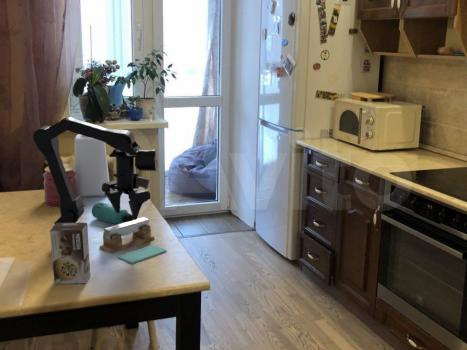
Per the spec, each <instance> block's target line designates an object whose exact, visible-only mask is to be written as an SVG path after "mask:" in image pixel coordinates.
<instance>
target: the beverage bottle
mask: <svg viewBox="0 0 467 350" xmlns="http://www.w3.org/2000/svg"><path fill="white" fill-rule="evenodd" d="M91 215H92V217H93V218H95V219H97V220H100V221H104V222H107V223H111V224H114V225H118V224H122V223H125V222H129V221H132V220H134V219H133V216H132V213H130V212H129V211H128V210H127V209H124V208H121V207H120V212H119V213H116V212H115V210H114V208H113V206H112V204H109V203H105V202H102V201H101V202H100V201H97V202H95V204H93V206H92V208H91Z"/></svg>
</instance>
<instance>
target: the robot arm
mask: <svg viewBox="0 0 467 350" xmlns="http://www.w3.org/2000/svg"><path fill="white" fill-rule="evenodd" d="M65 132H71V133H73V134H76V135H78V134H80V135H84V136H87V137H90V138H94V139H97V140H100V141H103V142H105V144H107V145H108V146H110V147H111V148H113V150H112V152H111V153H110V154H109V156H108V157H110V158H115V173H113V177H115V178H116V180H111V181H110V180H109V182H105V183H104V184H103V185H102V191H103V192H105V193H104V194H105V195H104V196H106V198H107V199H108V202H110V205H111V206H113V208H114V210H115V212H116V213H119V212H120V208H121V197H122V195H123V194H124V195H127V196H128V205H129V208H130V212H131V213H130V214H131V215H132V216H133V219H134V220H136V219H138V217H139V215H140V211H141V208H142V206H143V205H144V203H145V202H148V201H149V200H151V199H152V197H151V196H152V195H151V192H150V191H149V190H148V187H149V183H150V179H148V178H144V177H141V176H140V175H139V173H137V172H135V168H136V170H138V171H141V172H143V171H144V172H157V170H158V166H159V165H158V164H159V159H158V155H157V150H156V149H142V147H140V145H139V144H138V143H137V141H136V139H135V136H134V134H133V132H132V131H130V130H126V129H117V128H106V127H104V126H100V125H96V124H93V123H89V122H86V121H82V120H81V119H76V118H74V117H72V116H66V117H64V118H62V119H61V120H60V121H58V122H56V123H55V124H53V125H44V126H42V127H41V128H39V129H37V130H35V131H34V132H33V134H32V140H33V143H34V144H35V146H36V149H37V150H38V151H39V152H40V153H41V154H42V156H44V158H45V162H46V164H47V167H49V170H50V172H51V175H52V178H53V181H54V183H55V186H56V189H57V192H58V194H59V197H60V206H59V213H60V217H59V218H58V219H57V220H56V221H55V222H54V225H55V224H56V223H78V222H79V219H80V218H81V217H82V216H83V214H84V212H85V207H86V205H85V204H84V202H83V197H81V195H80V196H76V195H75V194H74V193H73V191H72V188H71V185H70V182H69V179H68V177H67V174H66V171H65V168H64V165H63V163H64V162H63V161H62V157H61V155H60V148H59V147H60V141H59V136H61V135H62V134H64V133H65Z"/></svg>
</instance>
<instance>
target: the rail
mask: <svg viewBox="0 0 467 350" xmlns="http://www.w3.org/2000/svg"><path fill="white" fill-rule="evenodd" d="M147 225H150V219H149V218H147V217H139V218H137V219H136V220H132V221H129V222H125V223H122V224H118V225H116V224H114V225H112V226H109V227H105V228H104V229H103V232H104V237H105V238H107V239H110V240H111V239H112V236H114V235H118V234H121V237H123V236H126V235H130V234H133V232H137V231H140V230H142V227H144V226H147Z"/></svg>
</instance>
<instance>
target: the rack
mask: <svg viewBox="0 0 467 350" xmlns="http://www.w3.org/2000/svg"><path fill="white" fill-rule="evenodd" d="M153 240H155V236H154V235H152V231H151V225H150V224H149V225H147V226H144V227H142V230H140V231H137V232H133V233H132V235H129V236H126V237H122V236H121V234H118V235H114V236H112V239H111V240H110V239H107V238H105V237H104V231H103V233H102V243H103V244H101V245H100V244H99V249H100V250H101V251H104V252H106V253H109V254H113V253H116V252H117V253H118V252H120V251H122V250H126V249H129V248H132V247H134V246H137V245H138V246H139V245H140V244H143V243H146V242H149V241H153Z"/></svg>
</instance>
